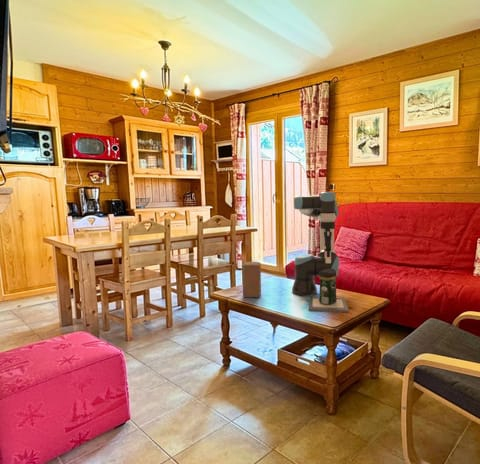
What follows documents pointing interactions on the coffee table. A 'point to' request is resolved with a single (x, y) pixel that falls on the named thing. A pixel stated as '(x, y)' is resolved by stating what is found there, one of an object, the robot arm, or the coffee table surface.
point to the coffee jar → (327, 286)
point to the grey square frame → (335, 307)
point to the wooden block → (251, 279)
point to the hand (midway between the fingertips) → (327, 260)
